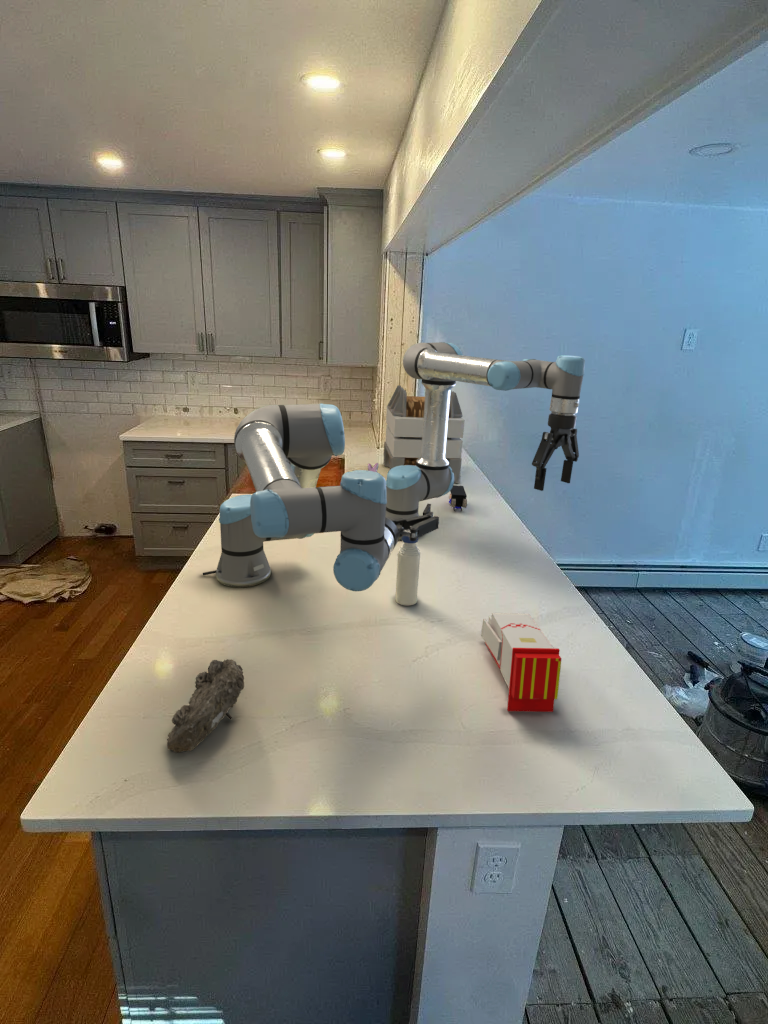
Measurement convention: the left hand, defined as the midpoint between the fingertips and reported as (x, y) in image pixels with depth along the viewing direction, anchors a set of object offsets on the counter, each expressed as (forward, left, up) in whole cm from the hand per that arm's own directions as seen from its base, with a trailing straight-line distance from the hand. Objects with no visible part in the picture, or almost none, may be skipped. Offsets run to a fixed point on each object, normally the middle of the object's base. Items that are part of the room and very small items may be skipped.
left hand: (398, 505), depth 127 cm
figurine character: (+4, +100, -33) cm, 106 cm away
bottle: (0, +18, -33) cm, 38 cm away
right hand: (+36, +48, -5) cm, 60 cm away
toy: (+29, -7, -33) cm, 45 cm away
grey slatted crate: (-19, +145, -33) cm, 150 cm away
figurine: (-30, +99, -33) cm, 109 cm away
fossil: (-26, -39, -33) cm, 57 cm away
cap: (0, +18, -14) cm, 23 cm away
